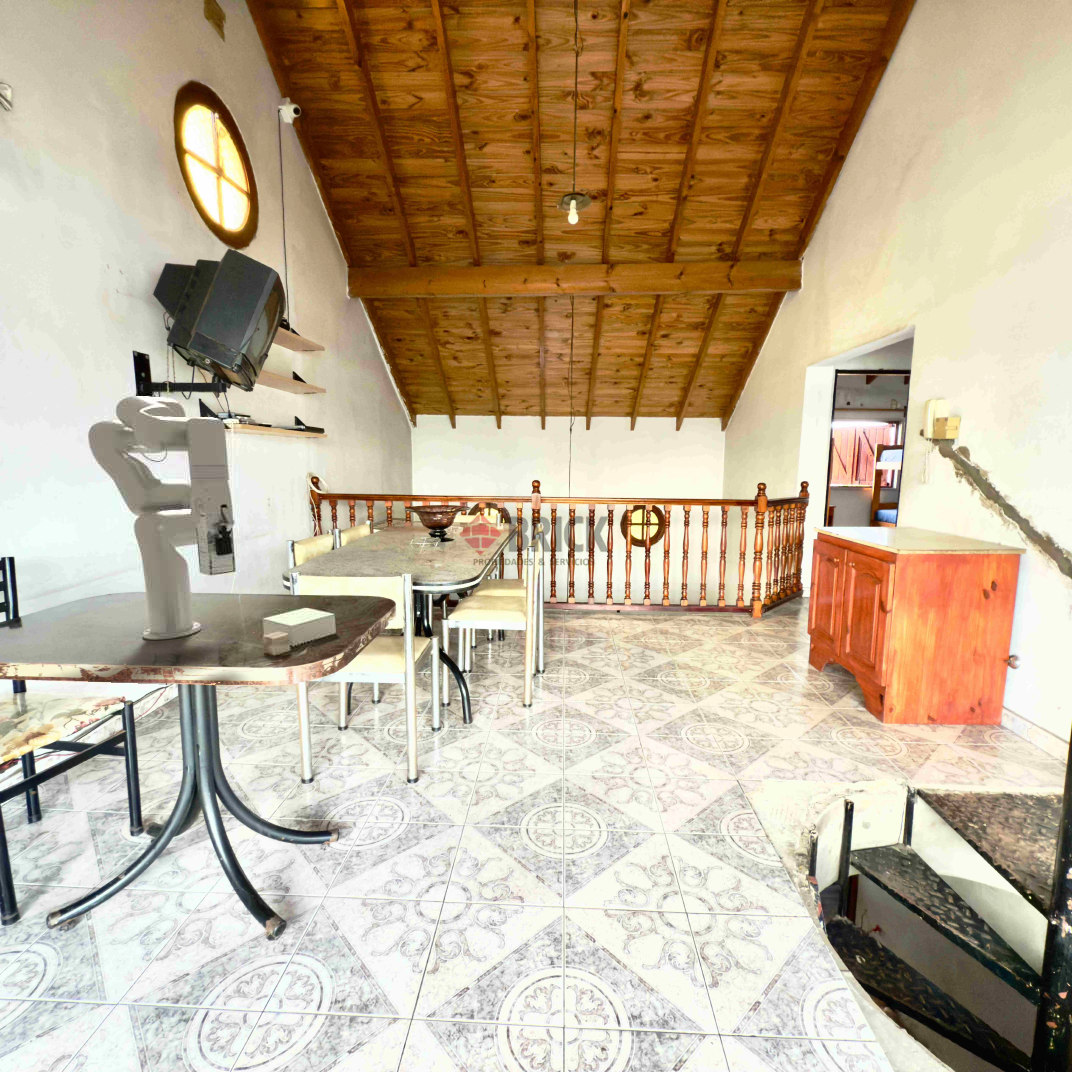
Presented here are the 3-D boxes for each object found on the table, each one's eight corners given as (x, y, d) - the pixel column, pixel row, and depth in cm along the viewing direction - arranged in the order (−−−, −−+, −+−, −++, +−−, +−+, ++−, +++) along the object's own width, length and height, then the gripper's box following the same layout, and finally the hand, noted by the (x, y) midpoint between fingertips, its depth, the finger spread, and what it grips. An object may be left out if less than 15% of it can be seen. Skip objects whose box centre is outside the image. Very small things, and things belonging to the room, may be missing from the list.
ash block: (264, 652, 130) (262, 635, 129) (280, 647, 133) (278, 631, 132) (274, 655, 128) (272, 638, 127) (290, 650, 131) (289, 634, 130)
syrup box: (225, 569, 133) (220, 507, 131) (236, 572, 129) (231, 509, 127) (199, 573, 129) (193, 509, 127) (210, 576, 125) (204, 511, 123)
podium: (264, 638, 140) (262, 618, 139) (307, 625, 150) (305, 607, 149) (292, 646, 134) (291, 625, 133) (335, 633, 143) (334, 613, 143)
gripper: (172, 474, 128) (180, 552, 130) (212, 475, 118) (219, 559, 121) (207, 473, 134) (213, 547, 136) (247, 474, 124) (253, 554, 127)
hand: (216, 552), depth 128 cm, fingers closed on syrup box, 6 cm apart
